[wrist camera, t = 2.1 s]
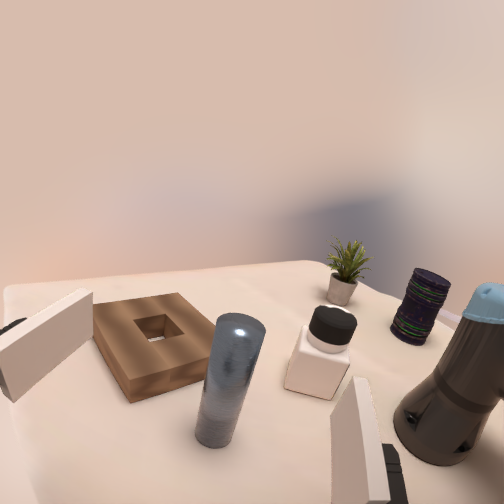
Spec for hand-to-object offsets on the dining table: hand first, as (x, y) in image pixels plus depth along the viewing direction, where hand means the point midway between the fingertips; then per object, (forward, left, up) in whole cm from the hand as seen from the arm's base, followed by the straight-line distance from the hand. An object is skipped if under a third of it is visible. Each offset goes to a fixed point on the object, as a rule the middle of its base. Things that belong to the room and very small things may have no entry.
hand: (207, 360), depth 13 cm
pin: (-8, -6, -19) cm, 21 cm away
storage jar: (-60, 0, -19) cm, 63 cm away
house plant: (-58, -21, -19) cm, 64 cm away
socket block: (-10, -22, -19) cm, 30 cm away
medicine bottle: (-26, -6, -19) cm, 33 cm away
